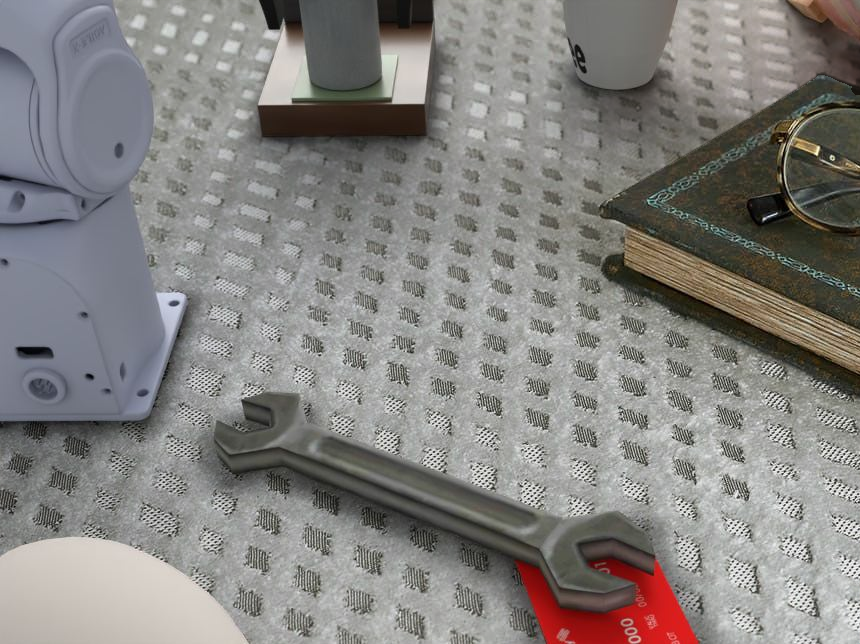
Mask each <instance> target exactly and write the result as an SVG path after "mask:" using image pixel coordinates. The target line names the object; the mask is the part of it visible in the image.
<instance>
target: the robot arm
mask: <svg viewBox="0 0 860 644" xmlns="http://www.w3.org/2000/svg"><path fill="white" fill-rule="evenodd" d="M258 2H259V4H260V8H261V10H262V13H263V16H264V19H265V22H266V26H267V30H269V31H280V30H281V27H282V25H283V22H284V6H283V0H258ZM411 19H412V0H397V22H398V29H409V28H410V26H411ZM149 83H150V82H149V79H148V76H147V73H146V71H145V68H144V67H143V65H142V62H141V60H140V58H139V57H138V56H137V54H136V53H135V52H134V50H133V49H132V47H131V46H130V44H129V43H128V41H127V39H126V38H125V36H124V34H123V31H122V29H121V26H120V23H119V18H118V15H117V12H116V7H115V3H114V0H0V422H88V421H89V422H116V421H117V422H121V421H122V422H124V421H125V422H127V421H132V422H134V421H135V422H136V421H137V422H138V421H143V420H145V419H147V418H148V417H149V416H150V415H151V413H152V410H153V408H154V404H155V402H156V398H157V396H158V393H159V389H160V387H161V383H162V380H163V378H164V375H165V371H166V369H167V366H168V363H169V359H170V357H171V355H172V351H173V348H174V345H175V342H176V340H177V336H178V334H179V330H180V328H181V324H182V321H183V318H184V315H185V312H186V309H187V306H188V298H187V295H186V294H185V293H182V292H157V291H156V287H155V283H154V279H153V274H152V271H151V267H150V263H149V259H148V255H147V251H146V246H145V242H144V238H143V236H142V235H143V234H142V231H141V227H140V222H139V219H138V215H137V212H136V207H135V203H134V200H133V199H134V198H133V196H132V191H131V187H130V183H131V182H132V181H133V179H134V178H135V177H136V176H137V175H138V174H139V172H140V170H141V169H140V168H141V167H142V166H143V164H144V162H145V159H146V157H147V155H148V152H149V149H150V145H151V143H152V138H153V132H154V124H155V123H154V121H155V119H154V118H155V112H154V111H155V109H154V101H153V95H152V91H151V87H150V84H149Z"/></svg>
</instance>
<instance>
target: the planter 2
mask: <svg viewBox="0 0 860 644" xmlns="http://www.w3.org/2000/svg"><path fill="white" fill-rule="evenodd" d="M786 1H787V2H788V3H789V4H790V5H792V6H793V7H794V8H795V9H796V10H798V11H799V12H800V13H801V14H802V15H803V16H804V17H807V18H810V19H812V20H815V21H816V22H819V23H820V24H821V23H824V22H825V21H826V20H827V19H828V20H829V21H830V22H831V23H832V24H833V25H835V27H836V28H838V29H840V30H841V31H843V32H845V33H846V34H847V35H849V36H850V37H851V38H853V39H855V40H857V41H859V42H860V0H786Z"/></svg>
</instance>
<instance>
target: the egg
mask: <svg viewBox="0 0 860 644" xmlns="http://www.w3.org/2000/svg"><path fill="white" fill-rule="evenodd" d="M0 644H250V643H249V641H248V640H247V638H246V637H245V636H244V634H243V633H242V631H241V630H240V628H239V627H238V626H237V624H236V623H235V622H234V620H233V619H232V617H231V616H230V615H229V613H228V612H227V611H226V609H225V608H224V607H223V606H222V605H221V603H220V602H218V601H217V599H215V597H214V596H213V595H212V594H210V593H209V592H208V591H207V590H206V589H204V588H203V587H202V586H200V585H199V584H198V583H197V582H195V581H194V580H193V579H192V578H190V577H189V576H187V575H186V574H185V573H183V572H182V571H180V570H178V569H177V568H175V567H173V566H172V565H170V564H169V563H168V562H165V561H163V560H161V559H160V558H157V557H155V556H154V555H150V554H148V553H146V552H145V551H142V550H140V549H137V548H135V547H133V546H131V545H129V544H125V543H122V542H118V541H114V540H110V539H106V538H105V539H104V538H96V537H88V536H87V537H86V536H65V537H57V538H46V539H41V540H38V541H33V542H30V543H25V544H22V545H18V546H17V547H15V548H13V549H11V550H9V551H7V552H5V553H3V554H2V555H1V556H0Z"/></svg>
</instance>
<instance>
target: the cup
mask: <svg viewBox="0 0 860 644" xmlns="http://www.w3.org/2000/svg"><path fill="white" fill-rule="evenodd" d="M678 3H679V0H561V4H562V12H563V21H564V27H565V35H566V39H567V43H568V47H569V50H570V54H571V59H572V61H573V65H574V69H575V72H576V75H577V77H578V78H579V79H580V81H582V82H583V83H585V84H587V85H589V86H592V87H594V88H600V89H605V90H629V89H635V88H638V87H642V86H644V85H646V84H648V83H649V82H650V81H651V80H652V78H653V77H654V75H655V73H656V70H657V67H658V65H659V62H660V60H661V58H662V56H663V53H664V50H665V48H666V46H667V44H668V40H669V37H670V33H671V29H672V25H673V22H674V18H675V14H676V11H677V6H678Z"/></svg>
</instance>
